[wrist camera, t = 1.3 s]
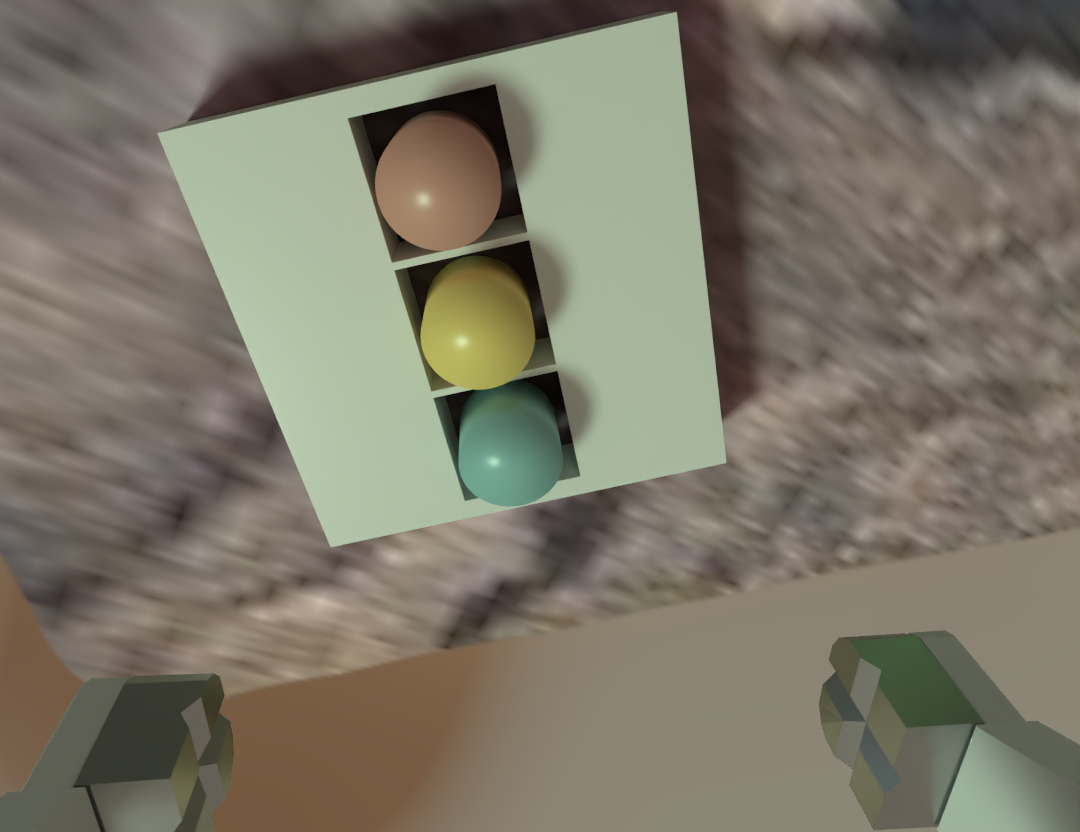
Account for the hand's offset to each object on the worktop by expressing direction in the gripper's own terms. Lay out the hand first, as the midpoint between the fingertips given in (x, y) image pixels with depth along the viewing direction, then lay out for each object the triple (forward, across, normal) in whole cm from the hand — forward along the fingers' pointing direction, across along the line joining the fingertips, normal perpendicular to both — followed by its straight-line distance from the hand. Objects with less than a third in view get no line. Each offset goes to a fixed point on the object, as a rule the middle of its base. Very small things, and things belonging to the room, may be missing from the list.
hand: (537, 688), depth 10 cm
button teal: (+23, -1, +8) cm, 24 cm away
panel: (+24, 0, +2) cm, 24 cm away
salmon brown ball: (+23, +1, -3) cm, 23 cm away
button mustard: (+23, 0, +2) cm, 23 cm away
